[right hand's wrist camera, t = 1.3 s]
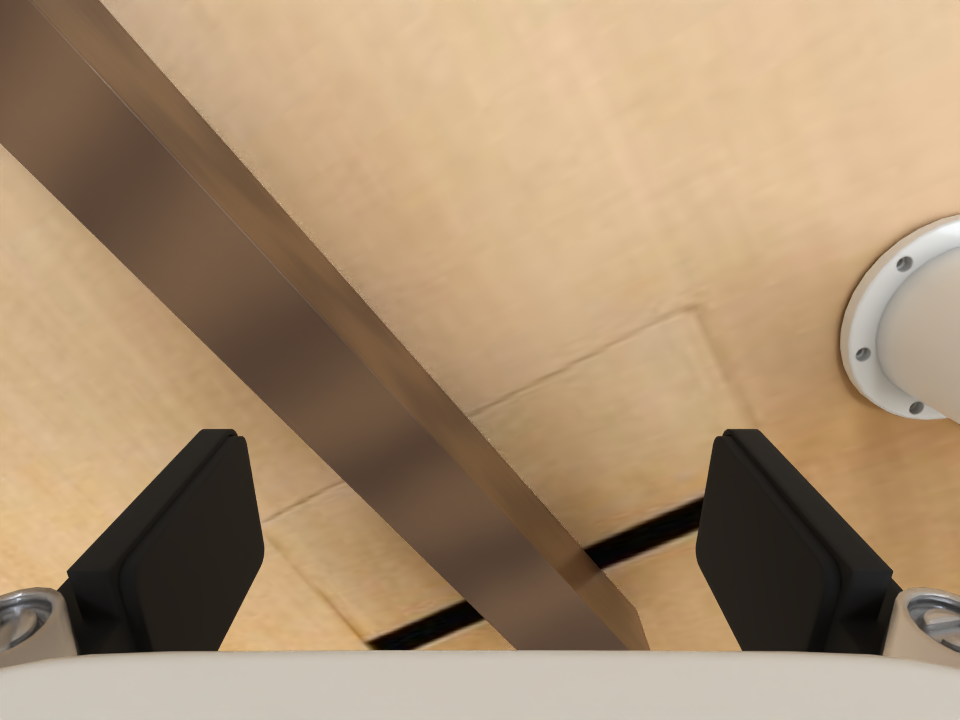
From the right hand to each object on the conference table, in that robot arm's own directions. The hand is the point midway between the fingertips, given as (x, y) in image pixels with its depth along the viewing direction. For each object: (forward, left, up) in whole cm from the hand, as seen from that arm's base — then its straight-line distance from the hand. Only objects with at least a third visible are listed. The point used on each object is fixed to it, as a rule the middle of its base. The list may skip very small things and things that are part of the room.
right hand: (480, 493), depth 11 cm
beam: (+15, +7, -23) cm, 28 cm away
